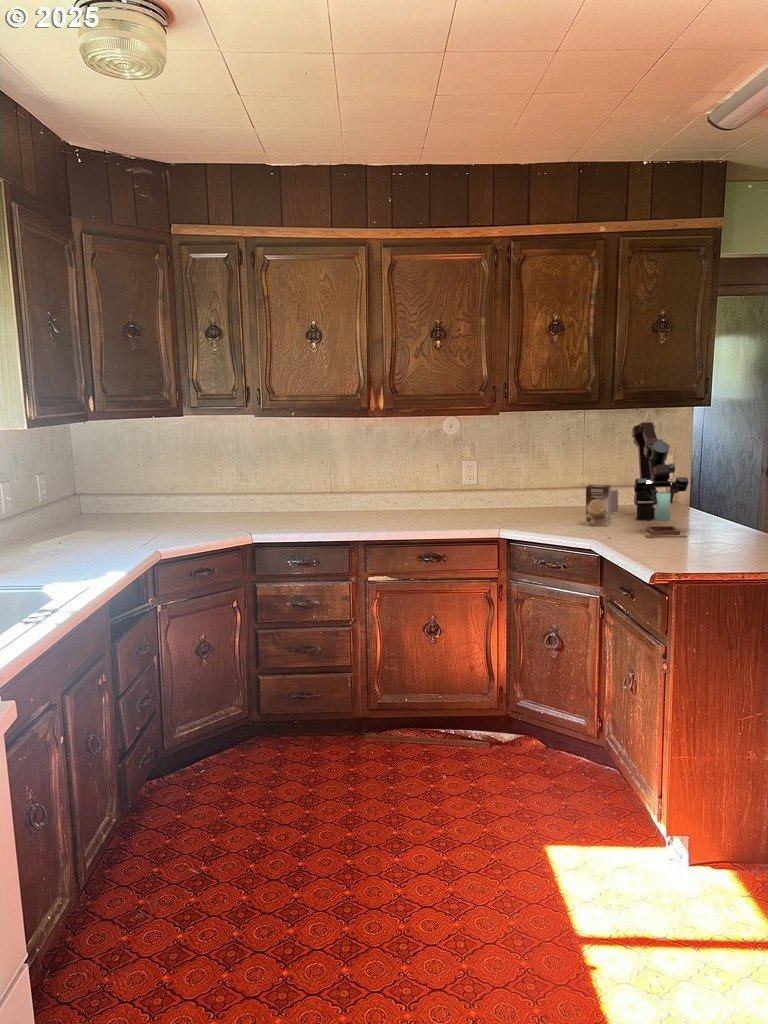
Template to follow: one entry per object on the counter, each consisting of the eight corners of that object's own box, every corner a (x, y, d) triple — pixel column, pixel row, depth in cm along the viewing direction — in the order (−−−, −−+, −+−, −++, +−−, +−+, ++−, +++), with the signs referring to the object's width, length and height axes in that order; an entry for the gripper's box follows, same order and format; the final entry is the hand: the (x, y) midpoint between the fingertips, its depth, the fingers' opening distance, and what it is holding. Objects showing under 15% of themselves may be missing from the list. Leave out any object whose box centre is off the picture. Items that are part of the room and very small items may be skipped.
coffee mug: (611, 514, 334) (611, 491, 332) (590, 512, 341) (590, 490, 339) (625, 510, 343) (625, 488, 342) (605, 508, 350) (605, 487, 349)
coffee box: (585, 526, 310) (584, 486, 307) (587, 523, 315) (587, 484, 313) (608, 526, 306) (608, 486, 303) (611, 524, 311) (610, 484, 309)
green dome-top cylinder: (653, 520, 285) (653, 493, 284) (661, 518, 288) (661, 491, 287) (664, 521, 281) (664, 494, 280) (673, 519, 284) (673, 493, 282)
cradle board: (639, 531, 293) (639, 525, 293) (678, 530, 291) (678, 525, 291) (646, 538, 280) (646, 532, 279) (687, 537, 278) (687, 531, 277)
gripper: (635, 457, 286) (640, 490, 277) (687, 455, 283) (694, 488, 274) (631, 475, 295) (636, 508, 286) (682, 474, 292) (689, 507, 283)
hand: (663, 502), depth 282 cm, fingers closed on green dome-top cylinder, 5 cm apart
